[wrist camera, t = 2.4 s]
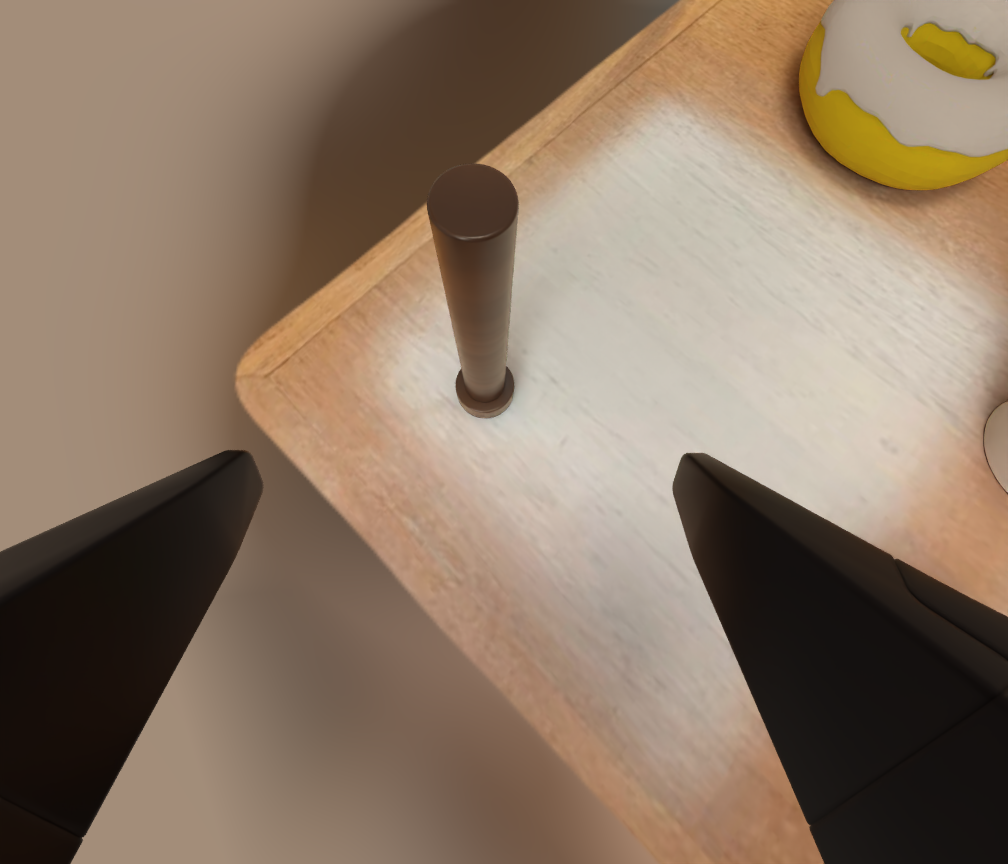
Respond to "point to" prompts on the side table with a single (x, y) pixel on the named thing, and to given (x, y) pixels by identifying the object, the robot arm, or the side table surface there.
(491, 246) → the stirring stick
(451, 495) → the side table surface
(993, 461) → the coffee cup
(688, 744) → the side table surface
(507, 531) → the side table surface
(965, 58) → the donut
